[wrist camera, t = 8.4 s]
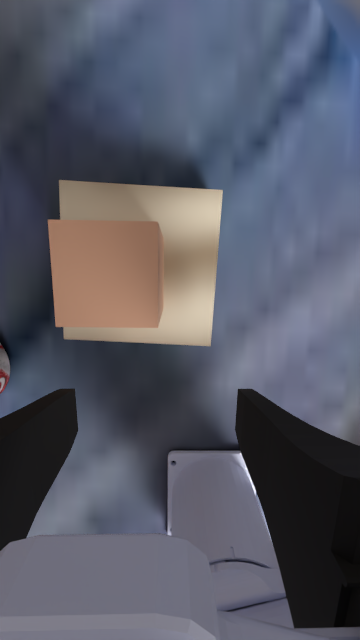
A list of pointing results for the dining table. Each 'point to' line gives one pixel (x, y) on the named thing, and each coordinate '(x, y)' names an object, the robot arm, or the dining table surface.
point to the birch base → (179, 253)
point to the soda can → (4, 369)
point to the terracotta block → (107, 273)
